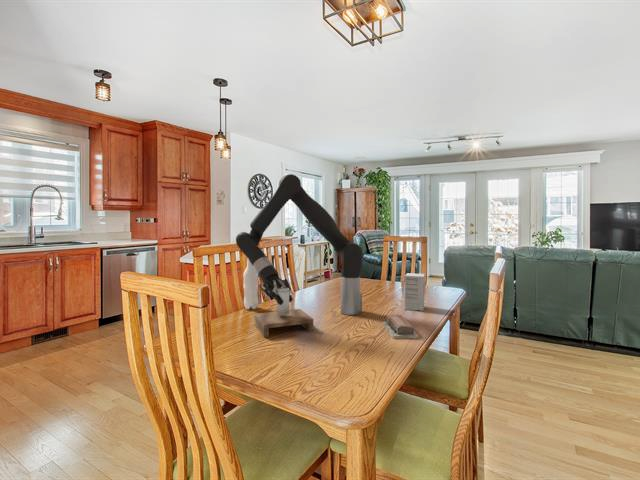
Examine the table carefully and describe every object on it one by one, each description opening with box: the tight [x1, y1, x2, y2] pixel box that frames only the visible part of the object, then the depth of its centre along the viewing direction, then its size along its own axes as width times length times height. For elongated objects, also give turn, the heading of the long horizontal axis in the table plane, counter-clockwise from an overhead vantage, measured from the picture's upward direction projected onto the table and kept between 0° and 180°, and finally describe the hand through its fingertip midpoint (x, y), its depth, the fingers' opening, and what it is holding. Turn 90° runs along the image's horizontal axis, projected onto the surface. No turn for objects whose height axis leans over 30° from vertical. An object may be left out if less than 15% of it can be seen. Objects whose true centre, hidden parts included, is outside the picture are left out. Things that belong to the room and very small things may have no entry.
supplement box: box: [403, 272, 426, 312], centre depth 174 cm, size 10×9×17 cm
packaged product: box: [382, 314, 420, 340], centre depth 141 cm, size 18×5×10 cm
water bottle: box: [242, 258, 259, 310], centre depth 174 cm, size 7×7×25 cm
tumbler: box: [276, 287, 290, 315], centre depth 144 cm, size 5×5×10 cm
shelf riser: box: [254, 308, 314, 339], centre depth 144 cm, size 20×16×5 cm
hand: (286, 302), depth 143 cm, fingers closed on tumbler, 5 cm apart
